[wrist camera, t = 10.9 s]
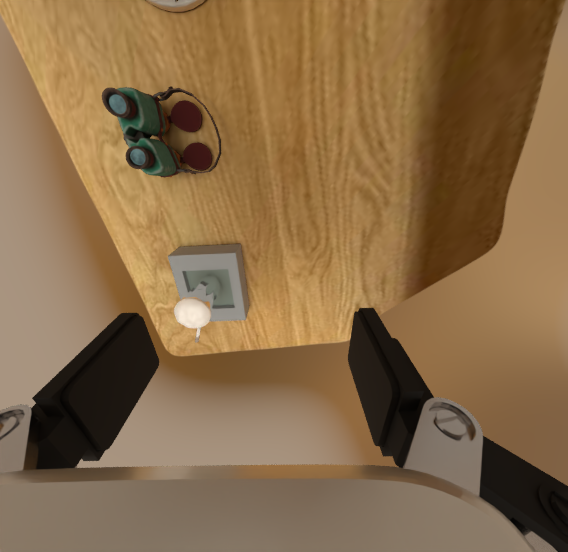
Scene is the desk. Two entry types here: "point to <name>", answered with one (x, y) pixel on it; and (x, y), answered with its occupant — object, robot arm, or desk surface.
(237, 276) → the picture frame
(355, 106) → the desk surface
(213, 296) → the milkshake
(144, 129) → the binoculars
